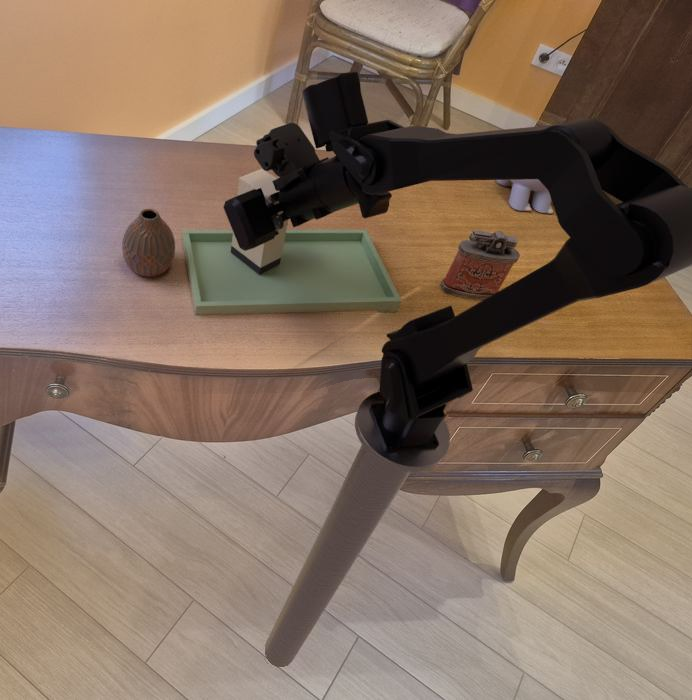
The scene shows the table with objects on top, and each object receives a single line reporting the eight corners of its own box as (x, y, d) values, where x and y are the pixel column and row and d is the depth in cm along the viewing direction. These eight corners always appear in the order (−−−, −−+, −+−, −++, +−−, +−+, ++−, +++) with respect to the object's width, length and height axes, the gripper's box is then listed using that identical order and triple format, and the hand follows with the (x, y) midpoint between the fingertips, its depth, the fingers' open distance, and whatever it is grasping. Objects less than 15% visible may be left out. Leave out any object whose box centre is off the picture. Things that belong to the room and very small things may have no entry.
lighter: (493, 287, 89) (525, 230, 81) (498, 302, 86) (531, 246, 79) (438, 279, 89) (465, 221, 81) (441, 294, 86) (470, 237, 79)
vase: (113, 273, 82) (111, 219, 75) (138, 246, 86) (138, 192, 80) (159, 291, 80) (161, 237, 74) (182, 262, 85) (186, 208, 78)
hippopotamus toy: (583, 217, 105) (615, 168, 98) (499, 210, 103) (526, 159, 96) (559, 183, 112) (587, 134, 105) (481, 175, 111) (504, 125, 104)
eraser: (279, 264, 86) (294, 189, 77) (259, 275, 84) (271, 199, 75) (251, 242, 89) (261, 168, 80) (230, 252, 87) (239, 177, 78)
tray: (397, 311, 83) (402, 300, 81) (194, 317, 78) (196, 306, 76) (362, 240, 93) (366, 229, 92) (182, 241, 88) (182, 229, 87)
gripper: (361, 97, 72) (280, 141, 86) (245, 137, 63) (174, 179, 76) (392, 187, 75) (309, 216, 88) (284, 238, 65) (209, 262, 78)
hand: (253, 216), depth 82 cm, fingers closed on eraser, 4 cm apart
